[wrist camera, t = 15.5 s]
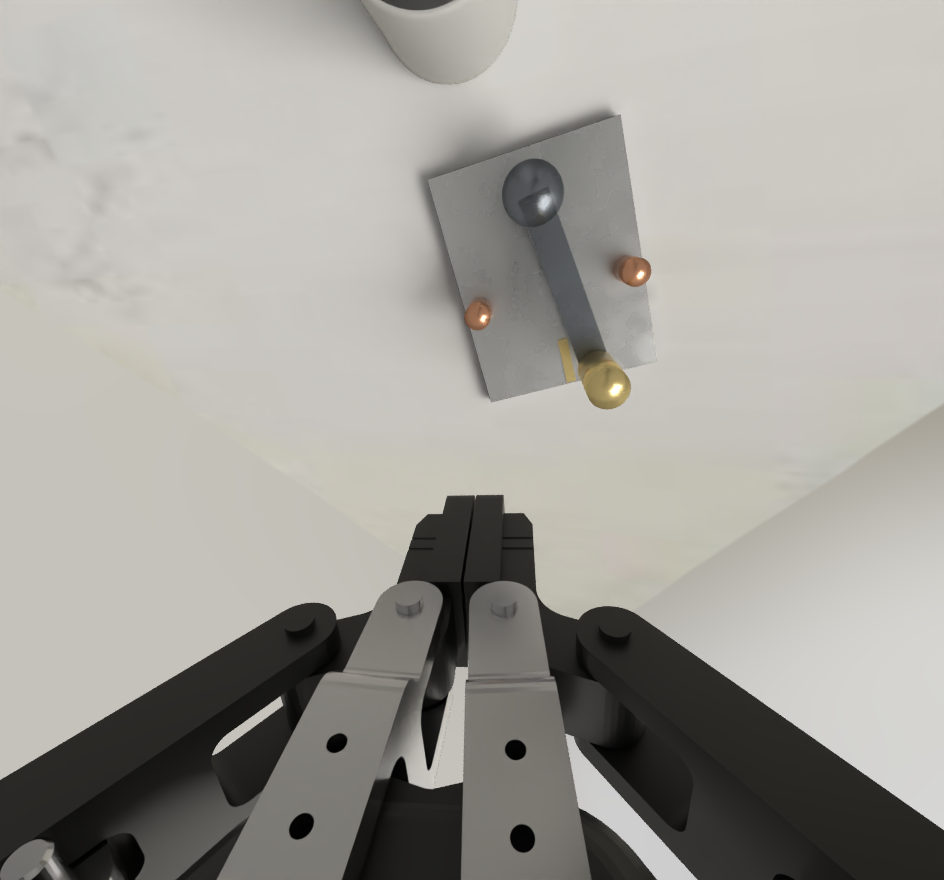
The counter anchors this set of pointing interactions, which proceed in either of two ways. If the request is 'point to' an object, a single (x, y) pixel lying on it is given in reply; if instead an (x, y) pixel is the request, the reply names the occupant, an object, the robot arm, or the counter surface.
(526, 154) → the crank base
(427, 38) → the mug
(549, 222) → the crank lever
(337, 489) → the counter surface
